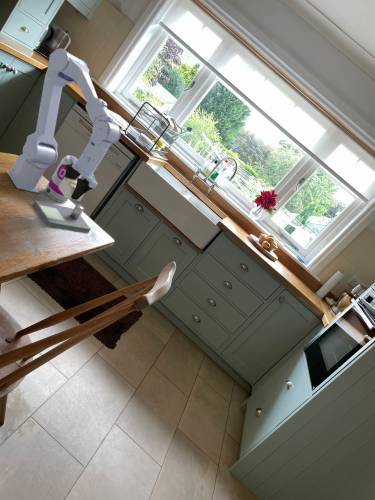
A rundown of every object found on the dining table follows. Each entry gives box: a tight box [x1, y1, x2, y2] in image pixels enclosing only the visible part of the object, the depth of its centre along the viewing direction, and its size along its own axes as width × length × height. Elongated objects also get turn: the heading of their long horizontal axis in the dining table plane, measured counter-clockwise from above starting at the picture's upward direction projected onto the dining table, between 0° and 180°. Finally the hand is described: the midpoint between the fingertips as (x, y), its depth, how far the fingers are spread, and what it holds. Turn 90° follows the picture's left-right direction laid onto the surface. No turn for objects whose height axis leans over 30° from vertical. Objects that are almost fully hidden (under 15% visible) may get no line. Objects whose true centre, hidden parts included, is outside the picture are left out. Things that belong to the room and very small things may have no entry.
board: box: [32, 200, 91, 234], centre depth 124 cm, size 11×16×2 cm
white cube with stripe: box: [58, 177, 86, 202], centre depth 119 cm, size 5×5×4 cm
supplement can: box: [45, 154, 83, 203], centre depth 133 cm, size 8×8×15 cm
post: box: [70, 203, 85, 220], centre depth 127 cm, size 3×3×4 cm
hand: (69, 193), depth 119 cm, fingers closed on white cube with stripe, 5 cm apart
